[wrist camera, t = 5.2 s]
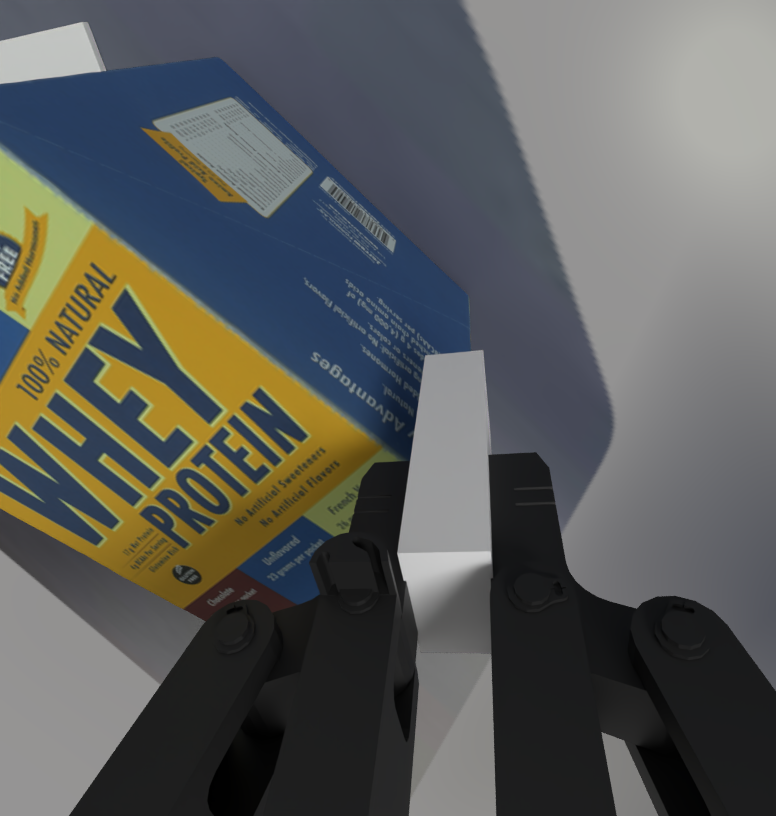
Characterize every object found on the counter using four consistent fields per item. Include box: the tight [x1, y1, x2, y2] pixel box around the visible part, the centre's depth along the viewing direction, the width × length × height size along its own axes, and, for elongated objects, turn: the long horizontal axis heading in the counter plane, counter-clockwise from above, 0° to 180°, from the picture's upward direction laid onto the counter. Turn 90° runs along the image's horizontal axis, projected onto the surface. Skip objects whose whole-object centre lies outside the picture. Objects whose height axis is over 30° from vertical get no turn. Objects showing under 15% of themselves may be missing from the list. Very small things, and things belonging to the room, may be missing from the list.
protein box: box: [0, 57, 471, 621], centre depth 21 cm, size 10×15×16 cm
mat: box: [0, 22, 106, 84], centre depth 29 cm, size 20×14×1 cm
